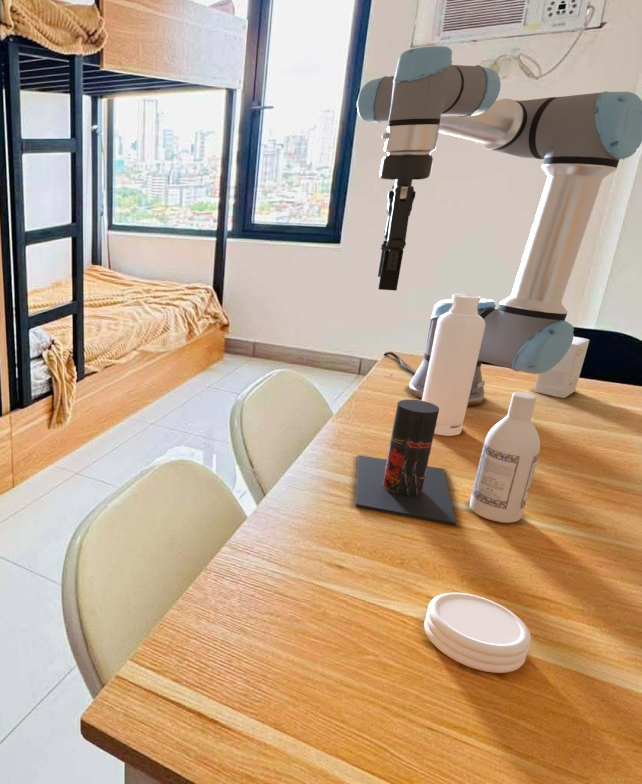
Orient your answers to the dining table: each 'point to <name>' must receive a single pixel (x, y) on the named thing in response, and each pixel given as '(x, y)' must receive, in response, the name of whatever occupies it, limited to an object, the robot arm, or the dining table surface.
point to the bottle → (454, 362)
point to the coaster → (477, 632)
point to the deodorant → (410, 447)
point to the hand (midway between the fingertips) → (386, 283)
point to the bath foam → (507, 463)
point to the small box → (564, 371)
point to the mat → (424, 506)
